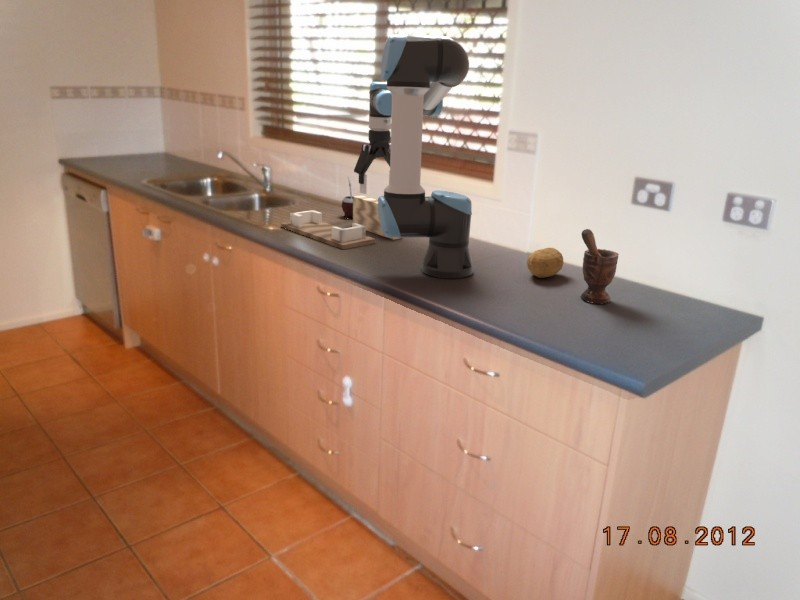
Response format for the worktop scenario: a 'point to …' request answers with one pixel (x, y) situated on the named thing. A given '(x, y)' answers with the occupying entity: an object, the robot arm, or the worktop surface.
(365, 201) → the slat
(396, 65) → the robot arm
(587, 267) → the mortar and pestle
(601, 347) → the worktop surface
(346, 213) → the mate gourd
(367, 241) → the walnut board
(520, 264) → the worktop surface
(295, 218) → the end caps
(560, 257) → the potato
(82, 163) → the worktop surface
